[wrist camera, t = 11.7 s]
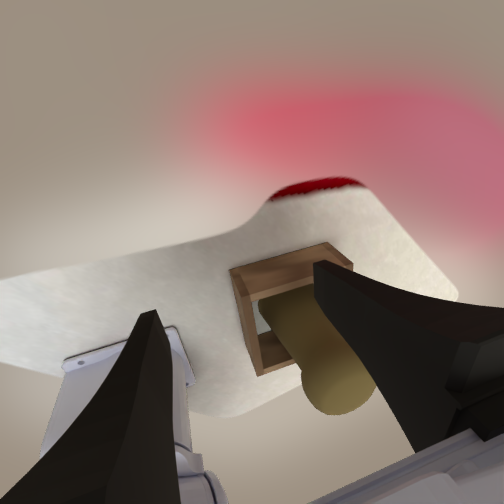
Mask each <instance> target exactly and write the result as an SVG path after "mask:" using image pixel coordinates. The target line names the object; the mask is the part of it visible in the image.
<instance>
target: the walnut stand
mask: <svg viewBox="0 0 504 504" xmlns="http://www.w3.org/2000/svg"><path fill="white" fill-rule="evenodd" d="M321 260H328V261H330V262H333V263H335V264H337V265H340V266H342V267H344V268H346V269H349V270H351V271H353V263H352V262H351V261H350V260H349V259H347V258H346V257H345V256H344V255H343V254H341V253H340V252H339V251H338V250H337V249H335V248H334V247H333V246H332V245H331V244H329V243H328V242H326V243H323V244H319V245H315V246H312V247H308V248H305V249H301V250H298V251H294V252H291V253H287V254H284V255H280V256H277V257H273V258H270V259H266V260H262V261H259V262H255V263H252V264H248V265H245V266H241V267H238V268H234V269H231V270H229V271H230V276H231V280H232V285H233V289H234V294H235V298H236V303H237V307H238V312H239V317H240V321H241V326H242V330H243V335H244V339H245V344H246V347H247V350H248V352H249V355H250V358H251V361H252V363H253V366H254V369H255V372H256V375H257V377H258V376H261V375H264V374H267V373H269V372H272V371H275V370H278V369H280V368H283V367H286V366H289V365H291V364H294V363H296V362H295V361H294V359H293V358H292V357H291V355H290V354H289V352H288V351H287V350H286V348H285V347H284V346H283V344H282V343H281V341H280V340H279V339H278V337H277V336H276V335H275V333H274V332H273V330H272V331H269V332H266V333H263V334H260V335H257V331H256V325H255V320H254V314H253V309H252V303H251V302H253V301H256V300H259V299H263V298H266V297H269V296H272V295H276V294H279V293H282V292H285V291H289V290H292V289H295V288H298V287H302V286H305V285H308V284H311V283H314V281H313V263H314V262H318V261H321Z"/></svg>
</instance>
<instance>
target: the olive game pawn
mask: <svg viewBox="0 0 504 504" xmlns="http://www.w3.org/2000/svg"><path fill="white" fill-rule="evenodd" d="M258 308H259V312H260V314H261V315H262V317H263V318H264V319H265V321H266V322H267V324H268V325H269V326H270V328H271V329H272V330H273V332H274V333H275V335H276V336H277V337H278V339H279V340H280V341H281V343H282V344H283V346H284V347H285V348H286V350H287V351H288V352H289V354H290V355H291V357H292V358H293V359H294V361H295V362H296V363H297V365H298V366H299V368H300V369H301V370H302V372H301V380H302V386H303V390H304V392H305V394H306V396H307V398H308V399H309V401H310V402H311V403H312V404H313V406H314V407H315V408H316V409H318V410H319V411H321V412H323V413H325V414H327V415H341V414H346V413H348V412H350V411H353V410H355V409H356V408H358V407H360V406H361V405H362V404H364V403H365V402H366V401H367V400H368V399H369V398H370V396H371V395H372V393H373V391H374V389H375V388H376V386H377V385H376V384H375V382H374V380H373V379H372V377H371V376H370V374H369V373H368V371H367V370H366V368H365V366H364V365H363V363H362V362H361V360H360V359H359V358H358V356H357V355H356V353H355V352H354V351H353V350H352V348H351V347H350V346H349V345H348V343H347V342H346V341H345V340H344V338H343V337H342V336H341V335H340V333H339V332H338V331H337V330H336V329H335V327H334V326H333V325H332V323H331V322H330V321H329V320H328V318H327V317H326V316H325V315H324V313H323V311H322V310H321V308H320V307H319V305H318V303H317V301H316V300H315V298H314V284H313V283H311V284H308V285H305V286H302V287H298V288H295V289H292V290H289V291H285V292H282V293H279V294H276V295H272V296H269V297H266V298H263V299H259V301H258Z"/></svg>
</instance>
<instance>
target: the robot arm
mask: <svg viewBox="0 0 504 504" xmlns="http://www.w3.org/2000/svg"><path fill="white" fill-rule="evenodd" d="M313 281H314V298H315V300H316V301H317V303H318V305H319V307H320V308H321V310H322V311H323V313H324V315H325V316H326V317H327V318H328V320H329V321H330V322H331V323H332V325H333V326H334V327H335V329H336V330H337V331H338V332H339V333H340V335H341V336H342V337H343V338H344V340H345V341H346V342H347V343H348V345H349V346H350V347H351V348H352V350H353V351H354V352H355V353H356V355H357V356H358V358H359V359H360V360H361V362H362V363H363V365H364V366H365V368H366V370H367V371H368V373H369V374H370V376H371V377H372V379H373V380H374V382H375V384H376V385H377V387H378V389H379V390H380V392H381V393H382V395H383V397H384V398H385V400H386V402H387V403H388V405H389V407H390V408H391V410H392V412H393V413H394V415H395V417H396V419H397V421H398V422H399V424H400V426H401V428H402V430H403V431H404V433H405V435H406V437H407V439H408V440H409V442H410V444H411V446H412V448H413V450H414V451H415V454H413V455H411V456H409V457H407V458H405V459H402V460H400V461H398V462H396V463H394V464H392V465H389V466H387V467H385V468H383V469H381V470H379V471H376V472H374V473H372V474H370V475H368V476H366V477H364V478H361V479H359V480H357V481H355V482H353V483H351V484H349V485H346V486H344V487H342V488H340V489H338V490H336V491H334V492H331V493H329V494H327V495H325V496H323V497H320V498H318V499H316V500H314V501H312V502H310V503H307V504H504V308H499V307H489V306H479V305H472V304H466V303H459V302H453V301H447V300H442V299H438V298H433V297H428V296H424V295H420V294H416V293H412V292H409V291H405V290H402V289H398V288H395V287H392V286H389V285H386V284H384V283H381V282H378V281H375V280H373V279H370V278H368V277H365V276H363V275H360V274H358V273H356V272H353V271H351V270H349V269H346V268H344V267H342V266H340V265H337V264H335V263H333V262H330V261H328V260H321V261H318V262H314V263H313ZM166 334H168V335H166ZM81 360H82V361H81ZM62 369H63V370H64V371H65V373H66V374H65V377H64V380H63V383H62V385H61V388H60V392H59V394H58V397H57V400H56V403H55V406H54V409H53V412H52V415H51V418H50V421H49V424H48V426H47V429H46V432H45V435H44V439H43V442H42V446H41V451H40V460H39V461H38V462H37V463H36V464H35V465H34V467H32V468H31V470H30V471H29V472H28V473H27V474H26V475H25V476H24V477H23V478H22V479H21V480H19V482H17V483H16V485H15V486H14V487H12V488H11V489H10V490H9V491H8V492H7V493H6V494H5V495H4V496H3V497H2V498H1V499H0V504H229V503H228V499H227V496H226V493H225V491H224V488H223V487H222V485H221V483H220V481H219V479H218V477H217V476H216V475H215V474H214V473H213V472H212V471H204V468H203V460H202V454H195V453H193V452H192V442H191V432H190V422H189V411H188V401H187V391H186V388H187V387H190V386H192V385H194V384H195V383H196V379H195V376H194V373H193V371H192V368H191V366H190V363H189V361H188V358H187V355H186V353H185V350H184V348H183V345H182V343H181V340H180V337H179V335H178V332H177V330H176V329H175V328H173V327H171V328H167V329H164V327H163V325H162V323H161V320H160V318H159V316H158V313H157V311H156V309H155V310H152V311H148V312H145V313H141V314H140V316H139V318H138V320H137V322H136V324H135V326H134V328H133V330H132V332H131V334H130V336H129V338H128V340H127V341H125V342H122V343H118V344H115V345H112V346H109V347H105V348H102V349H99V350H96V351H93V352H89V353H86V354H83V355H80V356H76V357H73V358H70V359H67V360H65V361H64V362H63V363H62Z"/></svg>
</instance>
